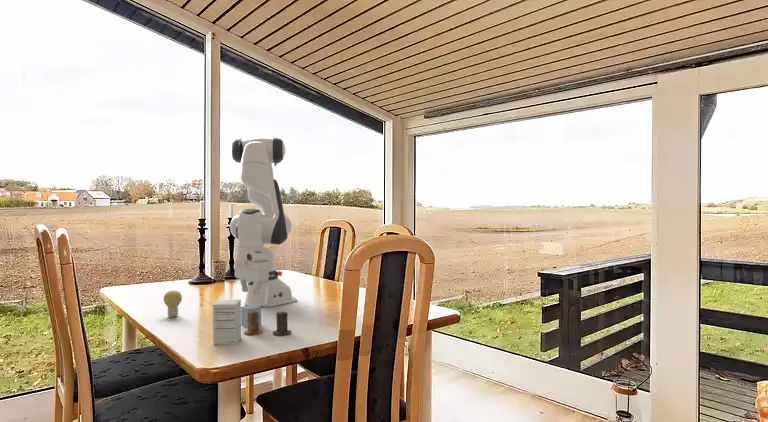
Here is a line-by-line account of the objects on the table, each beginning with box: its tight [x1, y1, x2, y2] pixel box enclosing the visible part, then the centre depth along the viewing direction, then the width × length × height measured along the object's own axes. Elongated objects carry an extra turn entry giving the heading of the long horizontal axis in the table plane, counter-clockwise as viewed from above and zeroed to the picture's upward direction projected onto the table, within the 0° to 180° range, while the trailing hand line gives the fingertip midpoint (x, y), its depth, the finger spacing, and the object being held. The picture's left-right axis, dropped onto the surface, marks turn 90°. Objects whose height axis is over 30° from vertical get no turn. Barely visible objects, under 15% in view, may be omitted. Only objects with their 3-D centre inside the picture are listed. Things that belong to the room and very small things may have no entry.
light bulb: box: [163, 289, 183, 318], centre depth 189 cm, size 6×6×10 cm
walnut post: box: [243, 311, 263, 336], centre depth 166 cm, size 6×6×7 cm
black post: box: [272, 311, 292, 337], centre depth 165 cm, size 6×6×7 cm
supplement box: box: [212, 299, 242, 345], centre depth 156 cm, size 7×7×13 cm
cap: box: [241, 305, 262, 329], centre depth 176 cm, size 5×5×7 cm
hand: (250, 293), depth 175 cm, fingers open, 8 cm apart
